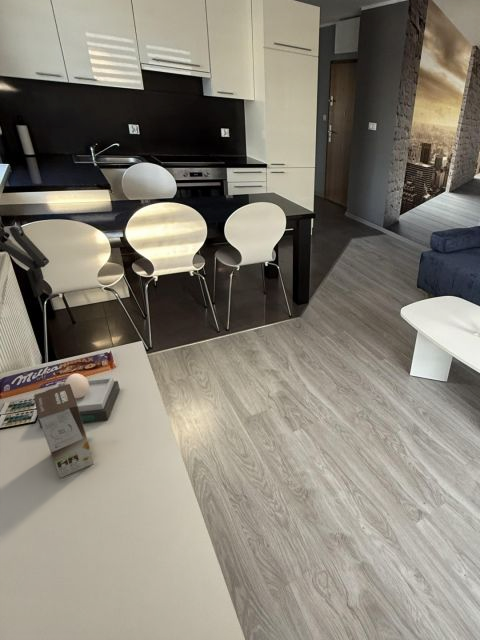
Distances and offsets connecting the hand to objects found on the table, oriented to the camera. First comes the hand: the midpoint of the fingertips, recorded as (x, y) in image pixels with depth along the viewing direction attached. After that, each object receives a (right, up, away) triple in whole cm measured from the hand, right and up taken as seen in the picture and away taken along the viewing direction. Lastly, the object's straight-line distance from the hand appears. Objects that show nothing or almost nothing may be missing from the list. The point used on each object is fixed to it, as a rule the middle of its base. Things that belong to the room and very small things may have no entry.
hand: (3, 296), depth 90 cm
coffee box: (+19, -36, -4) cm, 40 cm away
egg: (+11, -25, +9) cm, 29 cm away
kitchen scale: (+11, -28, +10) cm, 32 cm away
